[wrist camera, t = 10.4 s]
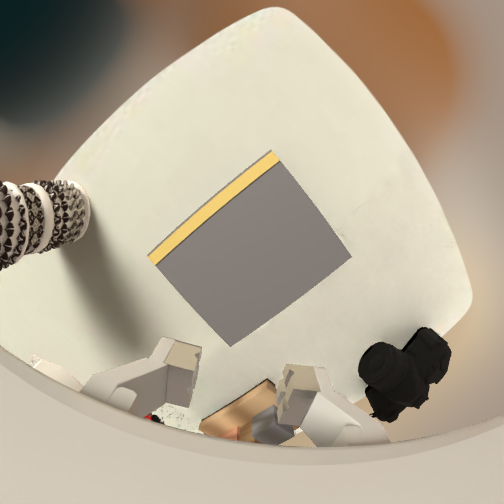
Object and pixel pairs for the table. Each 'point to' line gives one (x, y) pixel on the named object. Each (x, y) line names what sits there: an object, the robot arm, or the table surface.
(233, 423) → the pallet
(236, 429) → the terracotta crate
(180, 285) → the plate
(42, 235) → the decorative candle
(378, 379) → the film camera
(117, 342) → the table surface
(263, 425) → the gray cube
